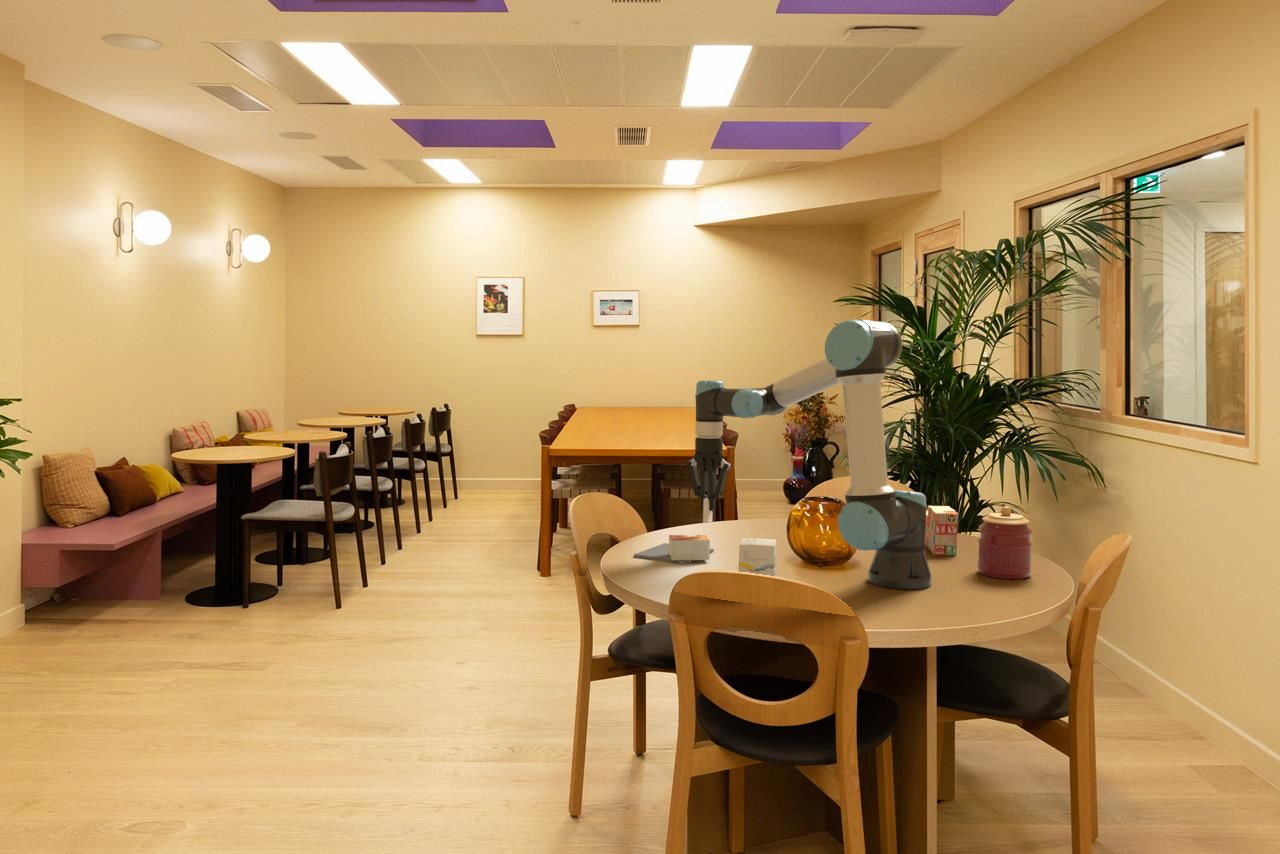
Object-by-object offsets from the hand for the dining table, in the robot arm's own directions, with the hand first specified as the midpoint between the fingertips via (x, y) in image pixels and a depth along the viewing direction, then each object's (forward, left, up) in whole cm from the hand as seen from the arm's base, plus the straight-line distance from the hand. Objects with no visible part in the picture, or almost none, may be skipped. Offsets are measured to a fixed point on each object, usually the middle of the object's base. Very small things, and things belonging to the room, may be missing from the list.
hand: (707, 522), depth 257 cm
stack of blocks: (-52, -48, -11) cm, 72 cm away
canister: (-74, -23, -10) cm, 78 cm away
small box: (-1, +1, -7) cm, 7 cm away
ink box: (-25, +24, -10) cm, 36 cm away
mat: (+10, 0, -10) cm, 14 cm away
